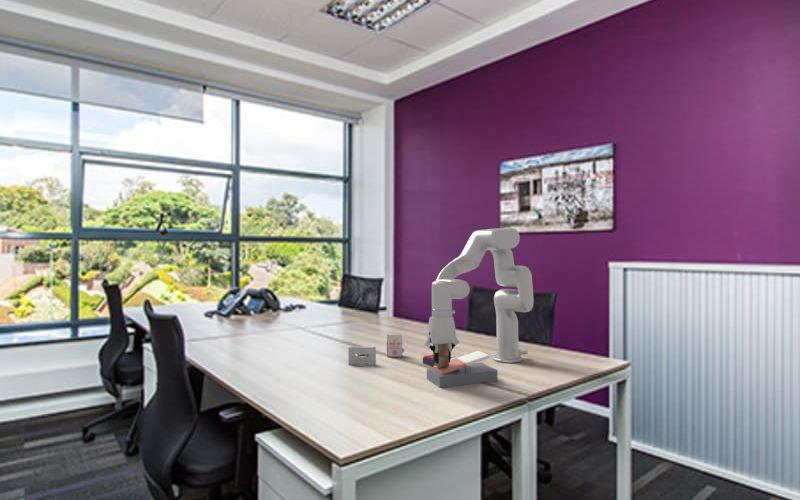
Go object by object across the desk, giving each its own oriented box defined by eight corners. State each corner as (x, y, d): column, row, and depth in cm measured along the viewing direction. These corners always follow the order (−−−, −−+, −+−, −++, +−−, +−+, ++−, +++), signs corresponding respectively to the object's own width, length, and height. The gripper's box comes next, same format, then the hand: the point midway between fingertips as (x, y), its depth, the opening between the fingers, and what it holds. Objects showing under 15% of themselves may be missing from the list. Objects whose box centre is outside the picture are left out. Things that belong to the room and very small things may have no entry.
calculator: (442, 352, 204) (463, 357, 191) (442, 361, 204) (464, 367, 191) (422, 355, 198) (443, 361, 185) (422, 365, 198) (443, 371, 185)
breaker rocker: (479, 355, 180) (478, 350, 180) (490, 360, 172) (489, 355, 172) (434, 370, 173) (433, 365, 173) (443, 376, 165) (442, 371, 165)
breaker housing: (481, 372, 182) (481, 357, 182) (497, 380, 171) (497, 364, 171) (426, 378, 174) (426, 362, 174) (439, 387, 163) (439, 370, 163)
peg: (444, 364, 173) (443, 340, 172) (448, 366, 169) (448, 342, 169) (434, 365, 171) (434, 341, 171) (438, 367, 167) (438, 343, 167)
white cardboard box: (388, 355, 213) (388, 333, 213) (402, 355, 213) (402, 334, 212) (387, 356, 210) (386, 335, 210) (401, 357, 209) (401, 335, 209)
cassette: (348, 365, 196) (348, 347, 196) (349, 363, 198) (348, 346, 198) (375, 365, 195) (375, 347, 195) (376, 364, 197) (376, 346, 197)
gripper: (457, 311, 176) (457, 358, 176) (417, 313, 171) (417, 361, 171) (466, 313, 169) (466, 362, 169) (425, 316, 163) (425, 366, 164)
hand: (442, 361), depth 170 cm, fingers closed on peg, 3 cm apart
